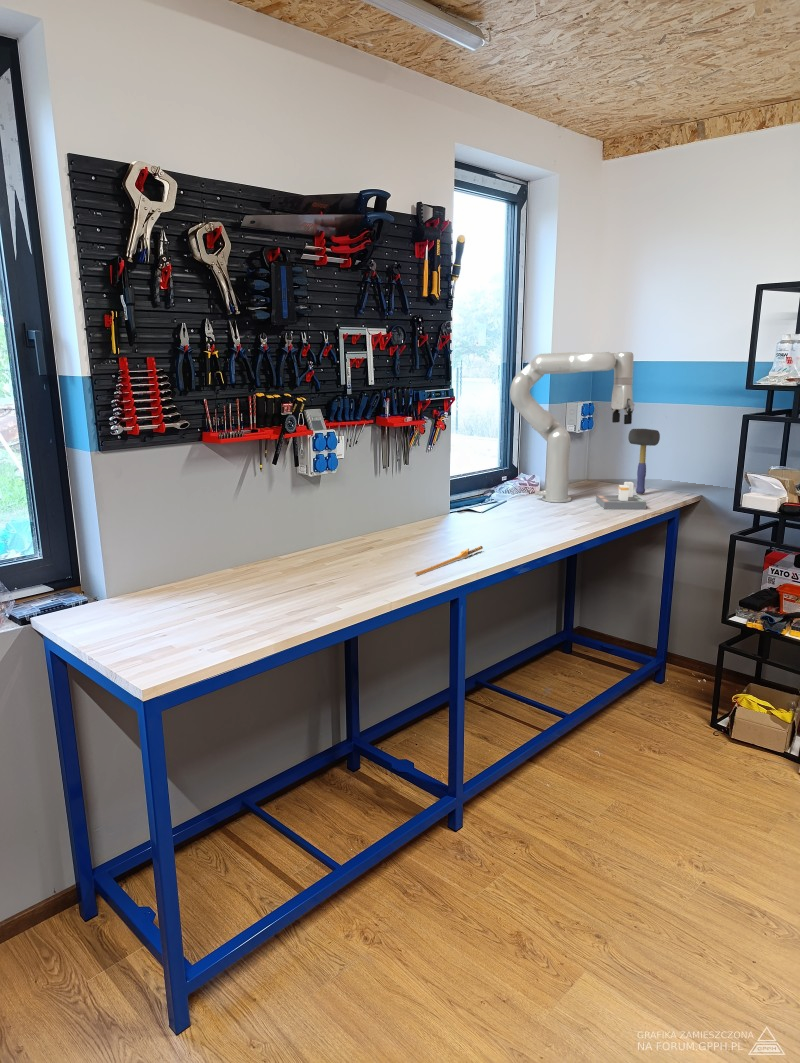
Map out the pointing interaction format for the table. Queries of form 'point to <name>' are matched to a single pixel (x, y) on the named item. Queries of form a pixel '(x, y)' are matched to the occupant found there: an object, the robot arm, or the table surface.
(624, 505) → the breaker panel
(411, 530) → the table surface
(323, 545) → the table surface
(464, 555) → the katana
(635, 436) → the rubber mallet
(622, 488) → the block
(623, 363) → the robot arm
